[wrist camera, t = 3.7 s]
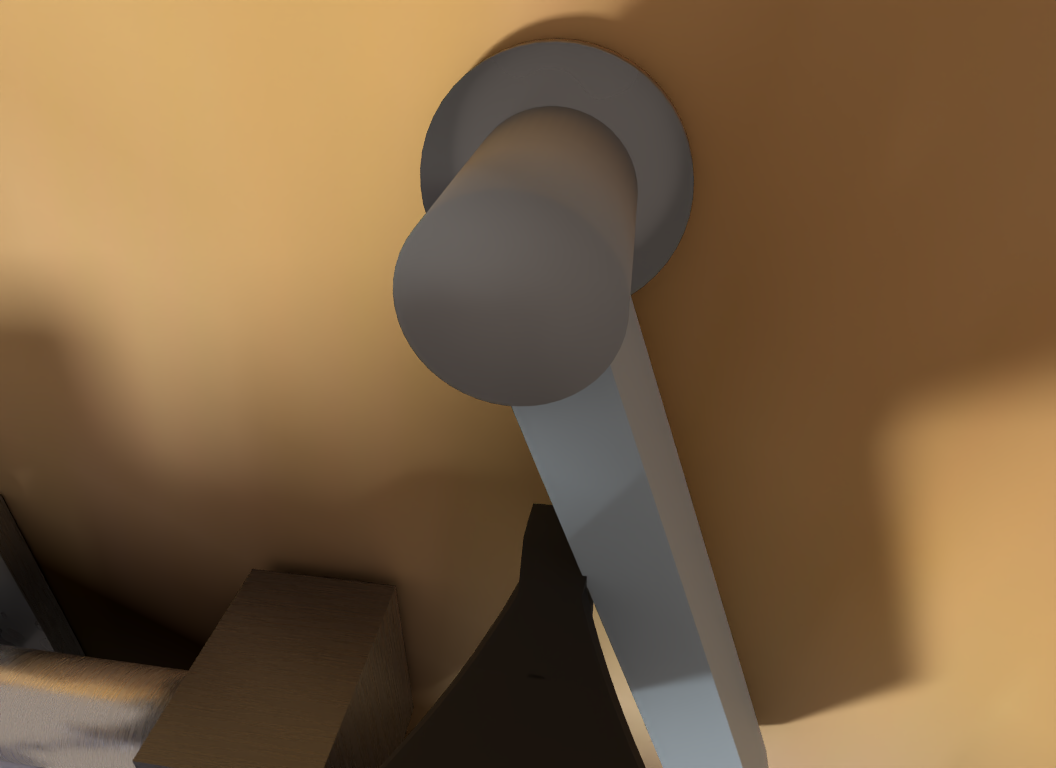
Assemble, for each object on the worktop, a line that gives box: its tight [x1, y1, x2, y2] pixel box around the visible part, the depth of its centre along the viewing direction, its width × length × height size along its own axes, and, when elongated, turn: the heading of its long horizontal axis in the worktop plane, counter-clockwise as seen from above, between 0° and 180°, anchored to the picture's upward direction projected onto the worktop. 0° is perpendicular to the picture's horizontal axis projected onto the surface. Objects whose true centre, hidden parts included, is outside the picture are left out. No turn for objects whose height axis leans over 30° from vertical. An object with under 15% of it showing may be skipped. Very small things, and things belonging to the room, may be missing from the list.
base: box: [420, 38, 694, 295], centre depth 10 cm, size 4×4×1 cm
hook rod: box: [0, 569, 414, 768], centre depth 14 cm, size 4×14×4 cm, turn 90°
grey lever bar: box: [393, 106, 768, 768], centre depth 11 cm, size 14×2×3 cm, turn 20°
